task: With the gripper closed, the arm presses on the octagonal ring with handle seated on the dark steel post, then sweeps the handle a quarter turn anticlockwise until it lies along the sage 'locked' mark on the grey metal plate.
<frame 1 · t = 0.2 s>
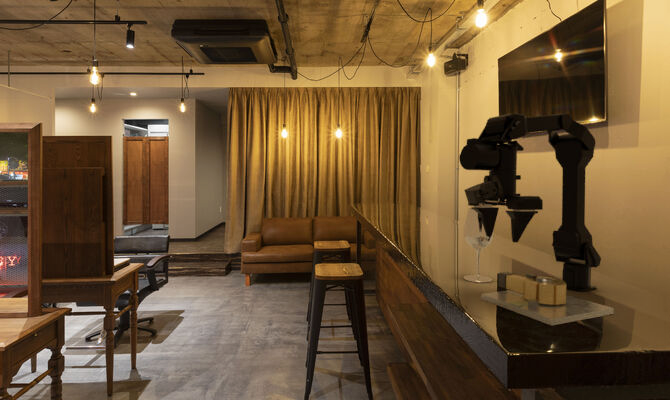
hand: (501, 239, 86), 14 cm above the table, fingers open, 9 cm apart
post base: (543, 306, 83), on the table
wineglass: (477, 280, 106), on the table
octagonal ring with handle: (529, 284, 86), point 4 cm above the table, hinge at 0.0°
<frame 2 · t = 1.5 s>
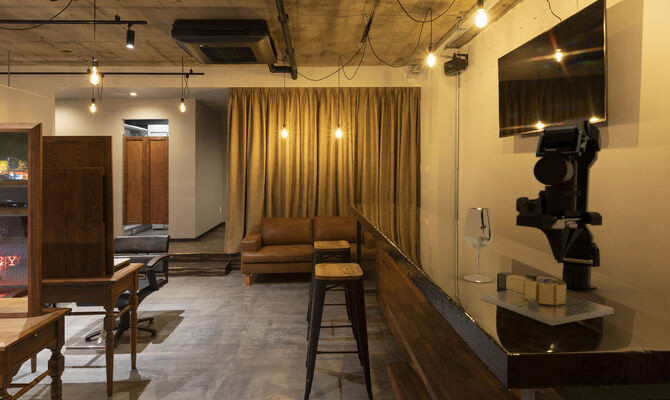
hand: (558, 260, 79), 11 cm above the table, fingers closed
nothing on the table moved.
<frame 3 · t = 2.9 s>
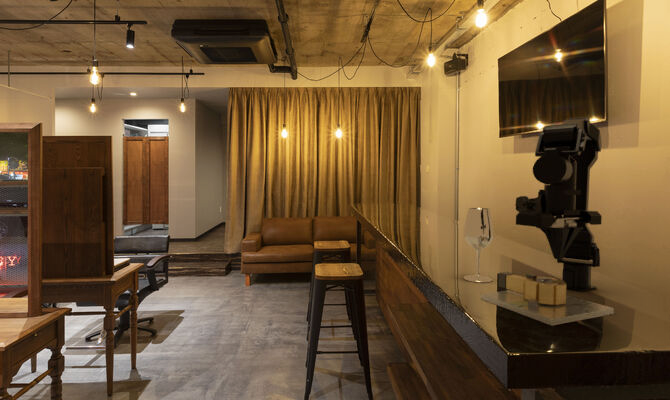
hand: (557, 259, 80), 11 cm above the table, fingers closed
nothing on the table moved.
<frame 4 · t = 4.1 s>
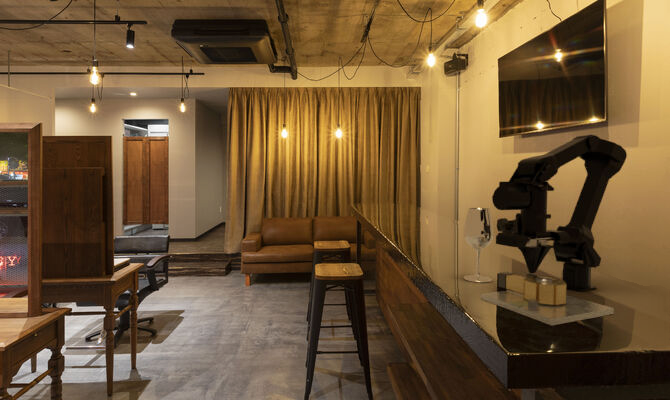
hand: (532, 273, 93), 5 cm above the table, fingers closed
nothing on the table moved.
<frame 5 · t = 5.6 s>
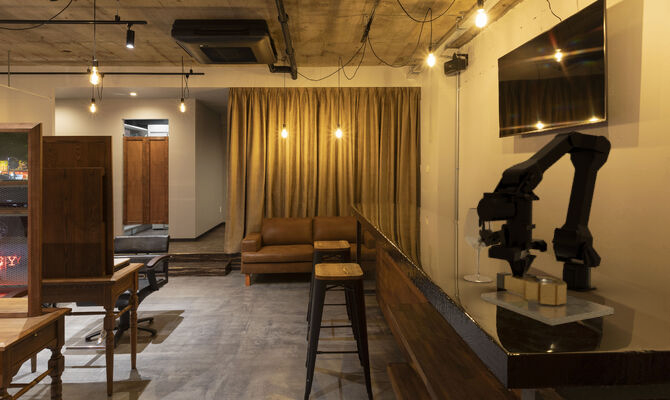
hand: (518, 283, 92), 3 cm above the table, fingers closed
octagonal ring with handle: (528, 284, 86), point 4 cm above the table, hinge at 4.0°, touching gripper
everything else where it was.
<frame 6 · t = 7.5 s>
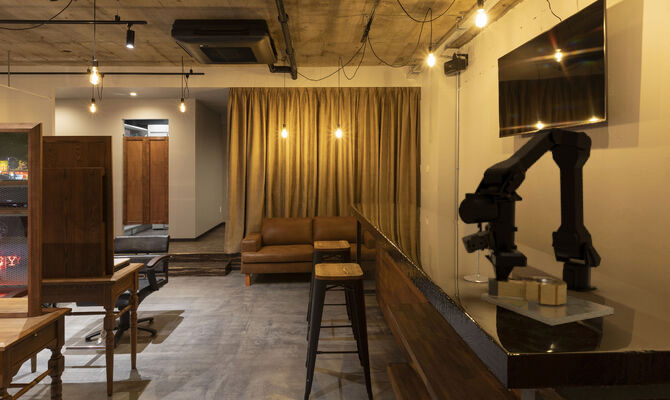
hand: (500, 287, 88), 3 cm above the table, fingers closed
octagonal ring with handle: (525, 286, 84), point 4 cm above the table, hinge at 49.6°, touching gripper
everything else where it was.
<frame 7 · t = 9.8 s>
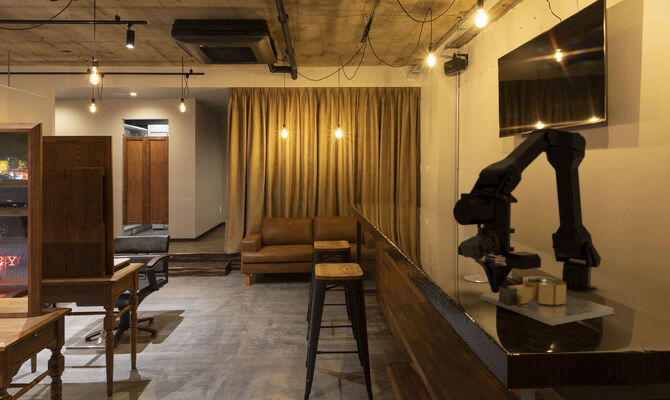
hand: (495, 292, 85), 2 cm above the table, fingers closed
octagonal ring with handle: (531, 289, 81), point 4 cm above the table, hinge at 89.2°
everything else where it was.
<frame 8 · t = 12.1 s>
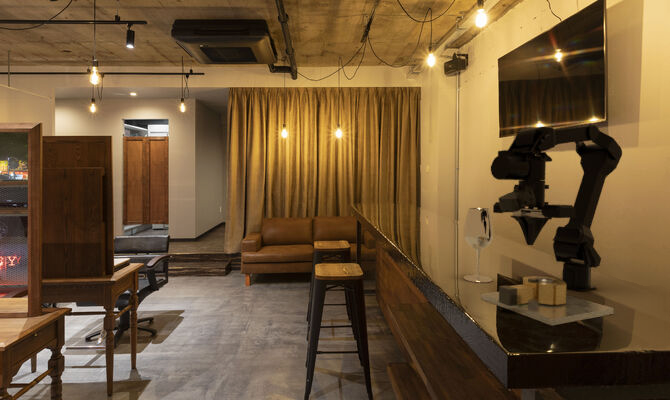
hand: (530, 245, 92), 12 cm above the table, fingers closed
nothing on the table moved.
at the end: octagonal ring with handle at +89° (first picture: +0°) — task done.
